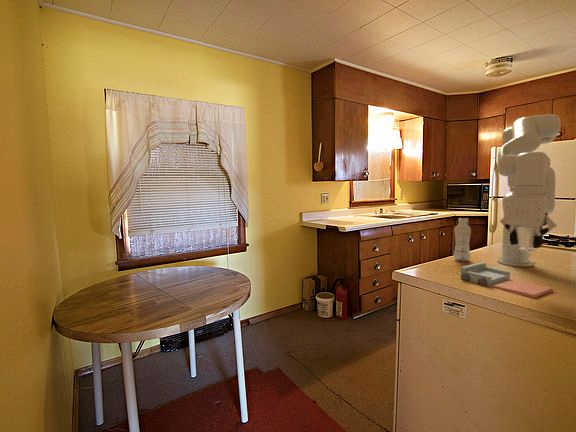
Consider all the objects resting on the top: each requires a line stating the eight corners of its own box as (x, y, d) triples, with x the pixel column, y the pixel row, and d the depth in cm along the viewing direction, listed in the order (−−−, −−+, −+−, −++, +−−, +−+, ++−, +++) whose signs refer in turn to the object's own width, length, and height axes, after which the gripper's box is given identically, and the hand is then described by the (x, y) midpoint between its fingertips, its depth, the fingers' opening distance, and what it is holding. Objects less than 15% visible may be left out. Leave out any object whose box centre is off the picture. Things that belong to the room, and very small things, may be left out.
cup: (540, 249, 99) (542, 225, 99) (541, 255, 92) (543, 229, 91) (514, 246, 104) (515, 224, 103) (512, 252, 96) (514, 227, 95)
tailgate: (511, 282, 108) (511, 279, 108) (552, 290, 97) (553, 287, 97) (492, 288, 102) (492, 285, 102) (534, 297, 92) (534, 294, 92)
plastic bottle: (470, 263, 133) (472, 219, 131) (452, 262, 137) (454, 218, 134) (470, 260, 138) (472, 217, 136) (453, 258, 142) (455, 217, 140)
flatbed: (482, 274, 118) (483, 261, 118) (513, 281, 109) (513, 268, 108) (459, 280, 111) (460, 267, 111) (489, 288, 102) (490, 274, 101)
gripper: (493, 191, 102) (490, 242, 104) (556, 191, 87) (552, 252, 89) (505, 190, 106) (502, 240, 107) (568, 191, 90) (563, 249, 92)
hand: (525, 245), depth 98 cm, fingers closed on cup, 5 cm apart
